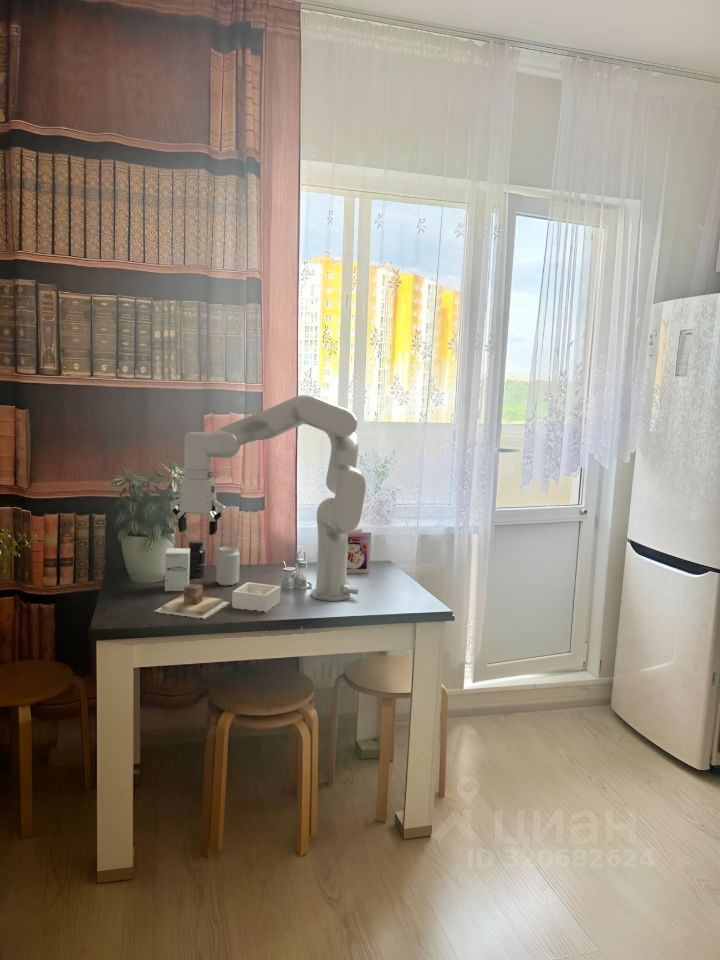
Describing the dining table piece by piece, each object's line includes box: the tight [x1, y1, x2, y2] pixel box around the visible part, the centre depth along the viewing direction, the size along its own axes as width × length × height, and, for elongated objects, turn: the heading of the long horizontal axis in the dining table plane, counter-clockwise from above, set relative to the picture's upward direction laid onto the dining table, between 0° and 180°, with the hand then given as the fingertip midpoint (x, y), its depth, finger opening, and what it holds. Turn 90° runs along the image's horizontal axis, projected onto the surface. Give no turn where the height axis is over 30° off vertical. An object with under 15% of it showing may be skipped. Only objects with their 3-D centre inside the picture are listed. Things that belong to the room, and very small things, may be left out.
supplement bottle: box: [187, 539, 207, 579], centre depth 251 cm, size 7×7×12 cm
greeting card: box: [346, 528, 372, 574], centre depth 266 cm, size 11×7×15 cm, turn 101°
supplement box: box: [164, 547, 190, 592], centre depth 235 cm, size 7×7×13 cm
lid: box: [161, 583, 224, 615], centre depth 216 cm, size 13×13×6 cm
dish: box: [231, 581, 282, 613], centre depth 222 cm, size 11×11×5 cm
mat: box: [154, 600, 230, 620], centre depth 217 cm, size 16×16×1 cm
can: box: [215, 546, 241, 587], centre depth 243 cm, size 8×8×12 cm
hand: (197, 532), depth 215 cm, fingers open, 9 cm apart
